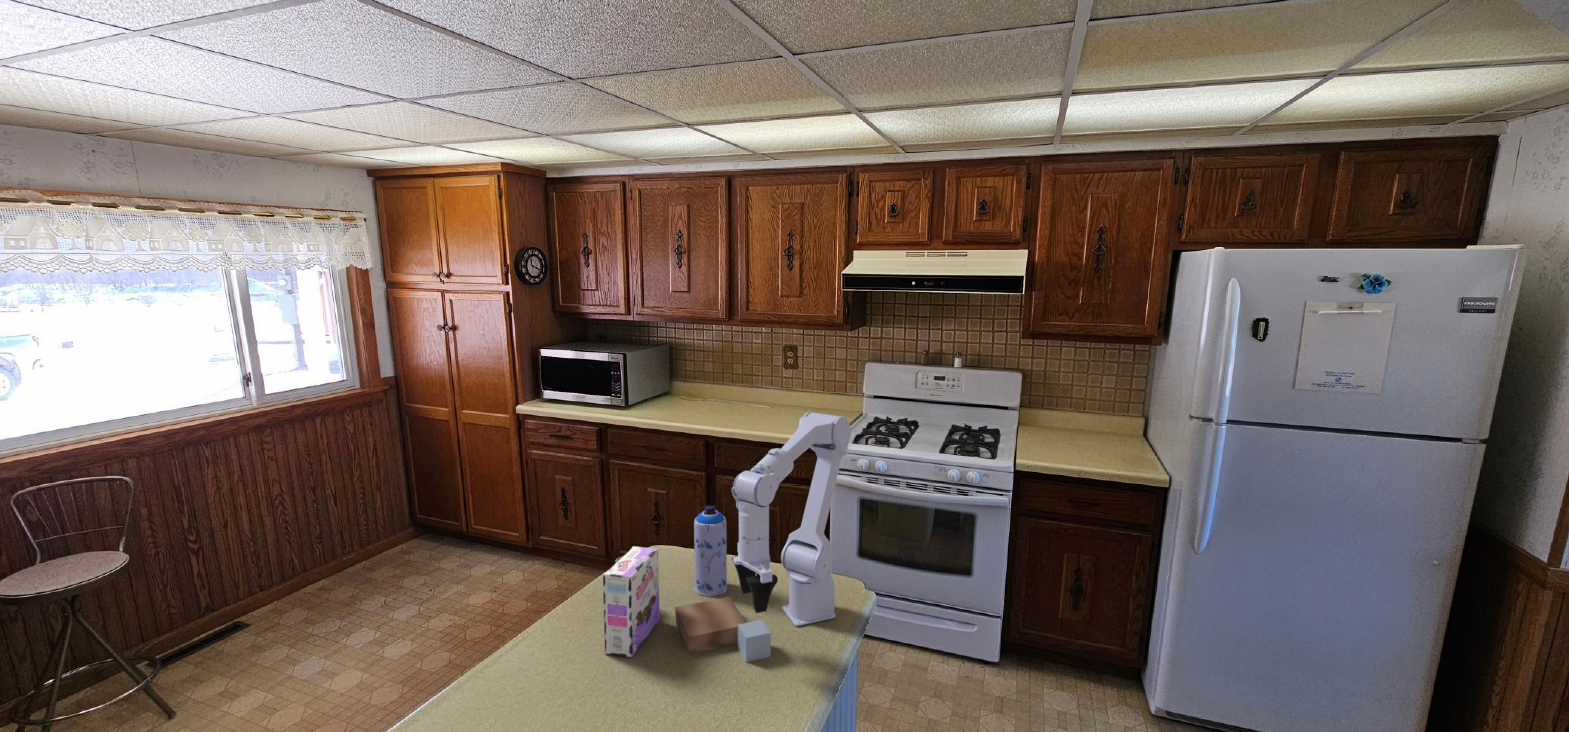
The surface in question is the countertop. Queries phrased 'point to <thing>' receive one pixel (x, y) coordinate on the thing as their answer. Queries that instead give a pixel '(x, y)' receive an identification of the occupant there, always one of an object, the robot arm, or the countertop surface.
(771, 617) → the countertop surface
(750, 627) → the slate cube
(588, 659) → the countertop surface
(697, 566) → the aerosol can
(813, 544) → the robot arm
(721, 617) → the walnut slab
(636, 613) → the candy box
